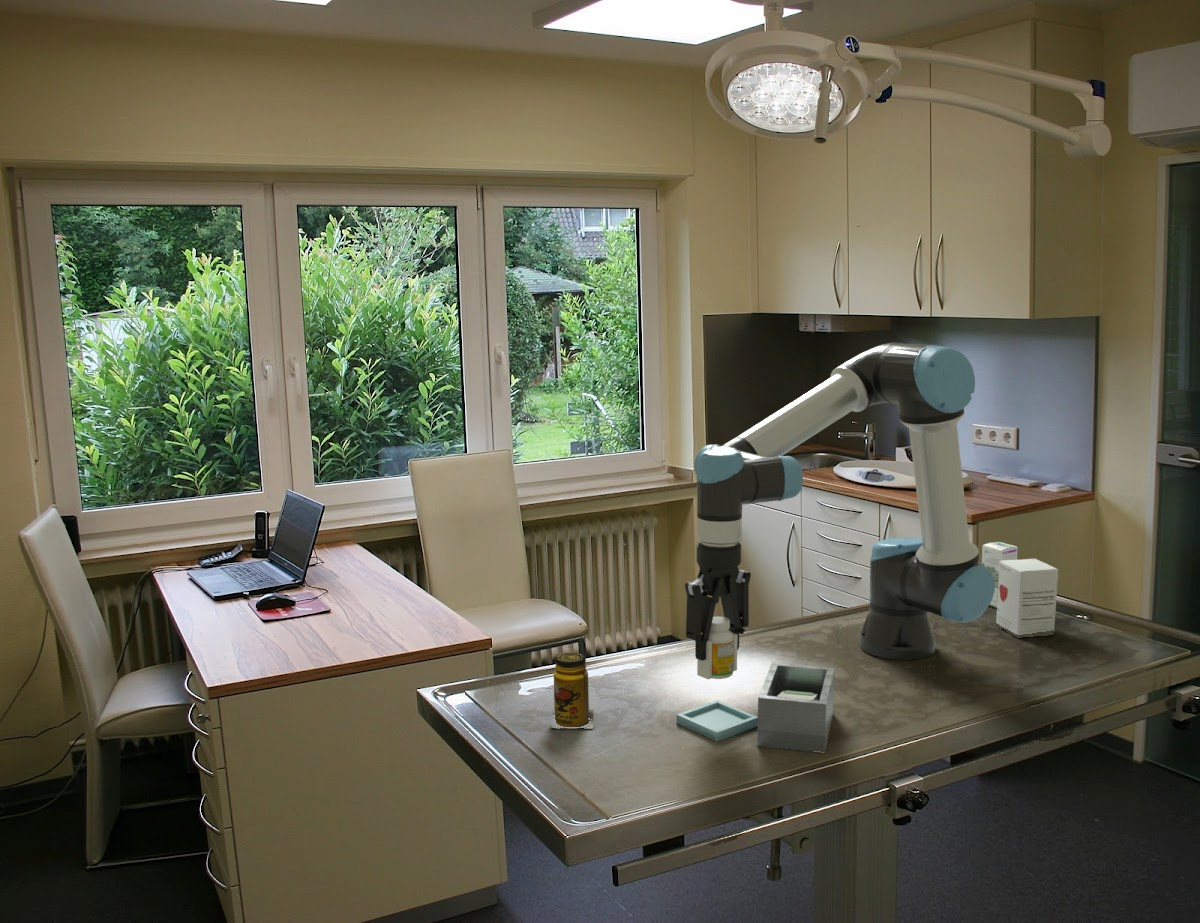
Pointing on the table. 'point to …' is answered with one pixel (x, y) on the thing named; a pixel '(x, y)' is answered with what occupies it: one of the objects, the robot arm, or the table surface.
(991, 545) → the syrup box
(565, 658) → the condiment
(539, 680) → the table surface
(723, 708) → the tray
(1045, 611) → the supplement box
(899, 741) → the table surface
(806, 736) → the guard box
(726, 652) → the supplement bottle
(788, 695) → the block
